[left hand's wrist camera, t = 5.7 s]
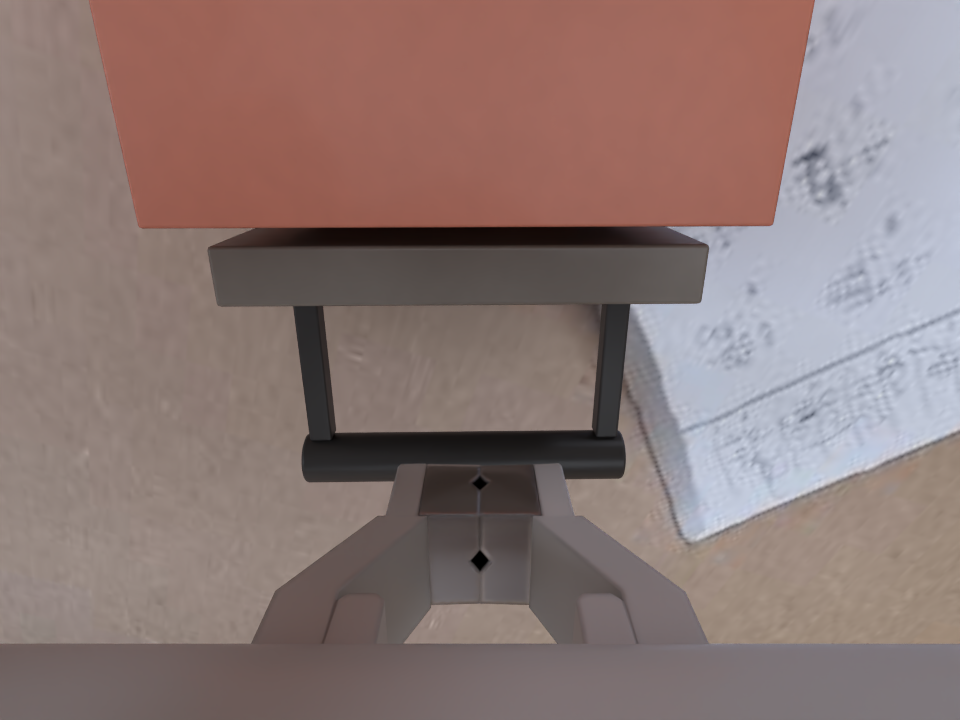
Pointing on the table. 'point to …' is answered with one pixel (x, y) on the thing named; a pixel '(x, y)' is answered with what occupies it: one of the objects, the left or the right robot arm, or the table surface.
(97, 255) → the table surface
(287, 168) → the cabinet
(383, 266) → the drawer
